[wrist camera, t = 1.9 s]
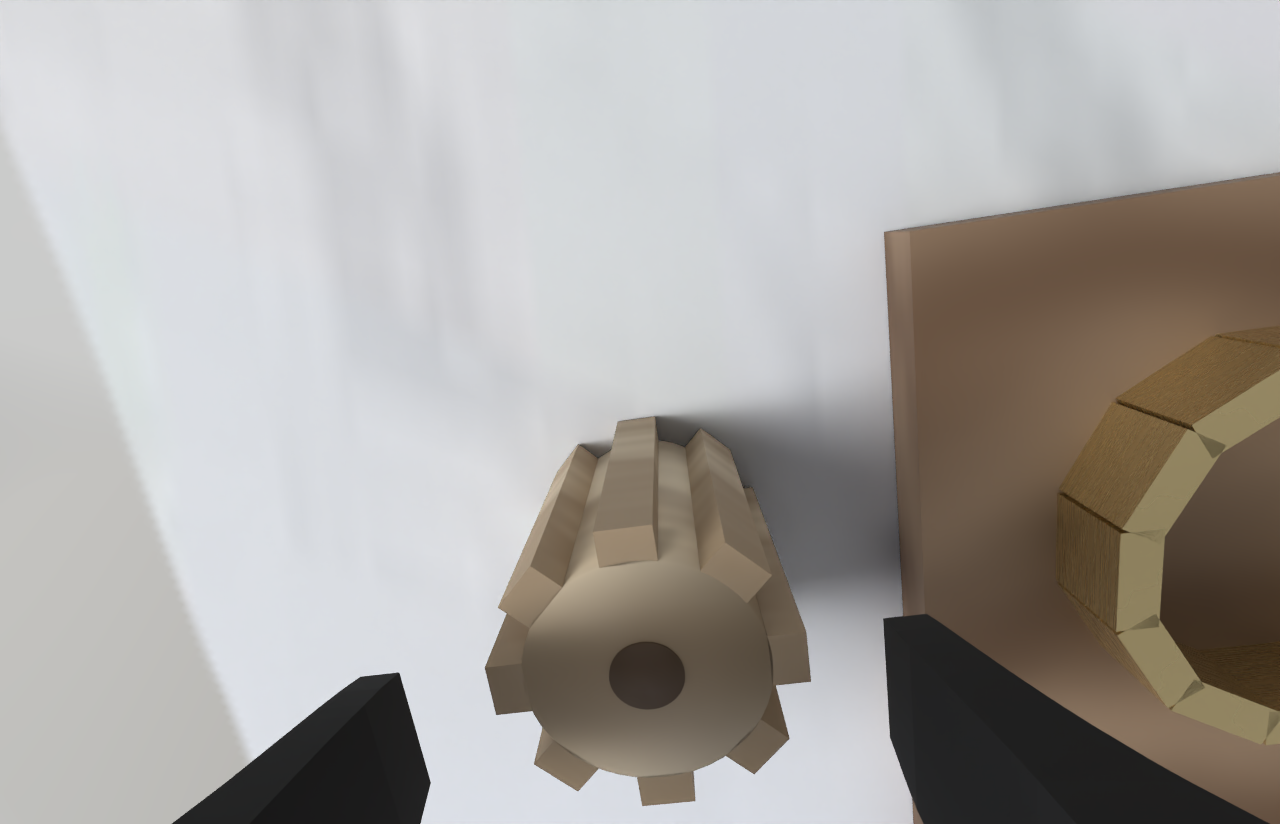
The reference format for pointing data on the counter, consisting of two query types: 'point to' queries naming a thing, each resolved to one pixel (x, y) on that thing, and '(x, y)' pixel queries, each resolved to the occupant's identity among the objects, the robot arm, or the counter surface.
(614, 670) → the maple gear
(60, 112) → the counter surface
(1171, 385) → the brass ring socket
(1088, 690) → the walnut board
